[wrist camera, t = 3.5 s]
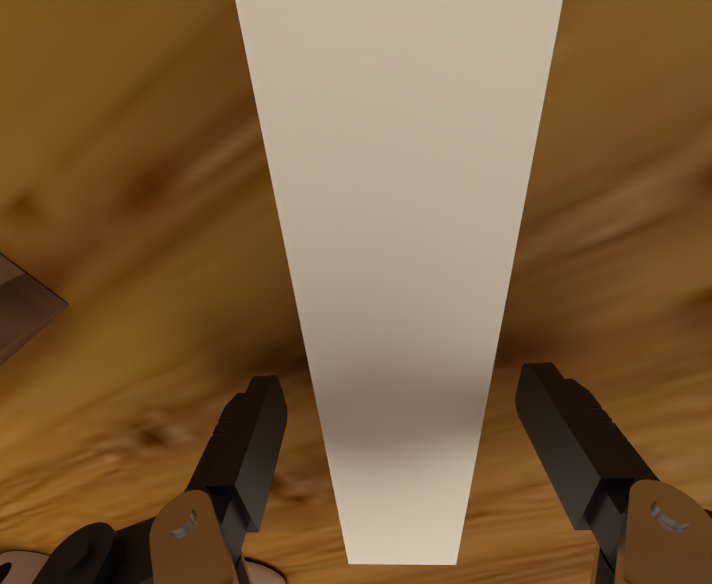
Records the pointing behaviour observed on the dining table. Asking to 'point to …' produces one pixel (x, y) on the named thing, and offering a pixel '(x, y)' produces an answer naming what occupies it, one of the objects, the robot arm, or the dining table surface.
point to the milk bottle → (263, 574)
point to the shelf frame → (22, 308)
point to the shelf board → (400, 234)
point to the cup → (20, 566)
